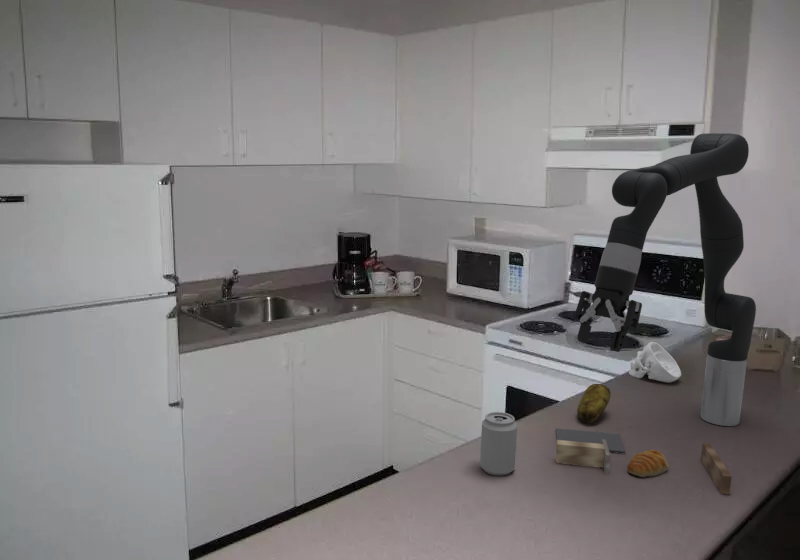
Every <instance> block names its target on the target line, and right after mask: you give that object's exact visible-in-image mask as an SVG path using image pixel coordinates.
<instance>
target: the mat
mask: <svg viewBox="0 0 800 560" xmlns="http://www.w3.org/2000/svg"><path fill="white" fill-rule="evenodd" d="M555 435H556V436H555V437H556V441H557V440H564V441H575V442H586V443H597V444H602V439H604V440H606V443H607V446H608V450H609V452H617V453H616V454H620V453H625V454H626V450H625V446H624V444H623V441H622V438H621V435H620V433H613V432H601V431H591V430H590V431H589V430H581V429H569V428H557V427H556V428H555Z"/></svg>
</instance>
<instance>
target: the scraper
mask: <svg viewBox="0 0 800 560" xmlns="http://www.w3.org/2000/svg"><path fill="white" fill-rule="evenodd" d="M555 446H556V449H555V463H556V462H557V463H556V464H559V463H566V464H565V465H569V464H575V465H574V466H580V465H585V466H584V467H590V466H597V467H596V468H600V467H603V468H604V469H603V468H602V469H603V471H604V472H605V473H608V474H607V475H609V473H610V462H611V461H610V460H611V454H610V453H609V450H608V446H607V443H606V440H604V439H602V444H597V443H586V442H575V441H564V440H557V439H556V445H555ZM586 465H587V466H586ZM605 473H604V474H605Z"/></svg>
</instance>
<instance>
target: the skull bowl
mask: <svg viewBox="0 0 800 560" xmlns="http://www.w3.org/2000/svg"><path fill="white" fill-rule="evenodd" d="M636 354H637V356H636V357H635V359H632V360H631V361H630V364H629V365H630V370H628V375H630V376H631V377H633V378H636V379H642V378H643V377H644V376H645V375H646V376H647V375H648V379H649V380H656V381H658V382H662V383H668V384H670V383H672V382H673V383H674V382H675V381H677V380H678V379H679V378H680V377H682V371H681V369H680V365H678V362H677V361H676V360H675V359H674V357H673V356H672V355H671V354H670V353H669V352H668V351H667V350H666V349H664V348H663V346H661V345H660V344H659V343H657V342H655V341H650V342H648V343H647V344H646V345H645V346H644V347H643V350H640V351H639V350H638V351H637V353H636Z"/></svg>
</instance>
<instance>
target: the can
mask: <svg viewBox="0 0 800 560" xmlns="http://www.w3.org/2000/svg"><path fill="white" fill-rule="evenodd" d="M515 420H516V419H515V417H514V415H512V414H510V413H507V412H503V411H492V412H489V413H487V414H485V416H484V419H483V420H482V422H481V433H480V436H481V437H480V451H479V452H480V455H479V457H480V458H479V466H480V467H481V469H483V470H484V472H486V473H487V474H490V475H492V476H507V475H509V474H510V473H511V472H513V471H514V470H515V469H516V454H517V451H516V450H517V437H518V436H517V435H518V423H517V422H516V421H515Z"/></svg>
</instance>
